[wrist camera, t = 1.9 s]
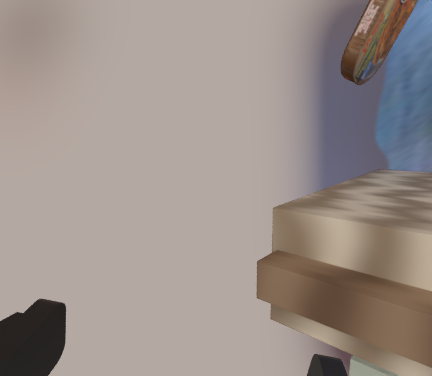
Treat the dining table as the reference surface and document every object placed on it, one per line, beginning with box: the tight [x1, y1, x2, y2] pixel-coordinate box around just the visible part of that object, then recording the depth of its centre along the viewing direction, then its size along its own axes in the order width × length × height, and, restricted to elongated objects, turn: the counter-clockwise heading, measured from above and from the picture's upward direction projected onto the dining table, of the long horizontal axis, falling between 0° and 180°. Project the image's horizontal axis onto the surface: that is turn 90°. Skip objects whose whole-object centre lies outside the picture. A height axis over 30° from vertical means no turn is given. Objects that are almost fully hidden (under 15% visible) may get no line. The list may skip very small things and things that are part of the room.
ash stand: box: [271, 169, 432, 376], centre depth 33 cm, size 16×10×32 cm, turn 91°
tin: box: [341, 0, 417, 85], centre depth 43 cm, size 15×3×8 cm, turn 154°
